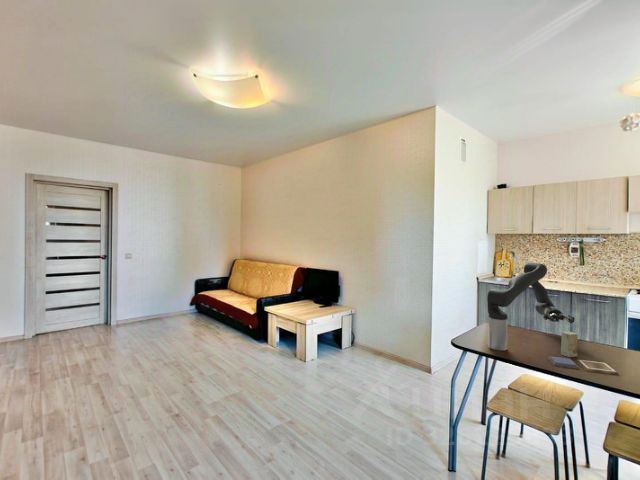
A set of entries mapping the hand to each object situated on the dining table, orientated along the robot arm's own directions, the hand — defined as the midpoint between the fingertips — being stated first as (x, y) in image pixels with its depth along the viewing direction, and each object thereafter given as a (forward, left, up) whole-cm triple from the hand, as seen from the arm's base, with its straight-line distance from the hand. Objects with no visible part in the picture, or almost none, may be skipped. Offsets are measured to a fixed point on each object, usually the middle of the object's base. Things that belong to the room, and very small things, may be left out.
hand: (562, 320), depth 176 cm
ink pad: (-7, -25, -16) cm, 31 cm away
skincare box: (0, -11, -16) cm, 20 cm away
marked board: (+6, -25, -16) cm, 30 cm away
